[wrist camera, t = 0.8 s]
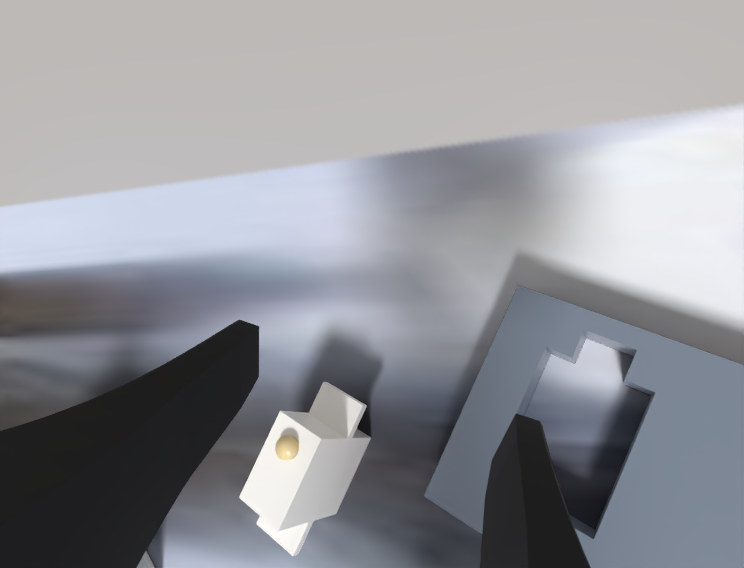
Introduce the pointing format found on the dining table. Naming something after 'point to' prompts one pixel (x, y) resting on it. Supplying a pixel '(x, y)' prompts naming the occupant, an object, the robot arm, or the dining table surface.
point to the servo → (306, 466)
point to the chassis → (647, 451)
